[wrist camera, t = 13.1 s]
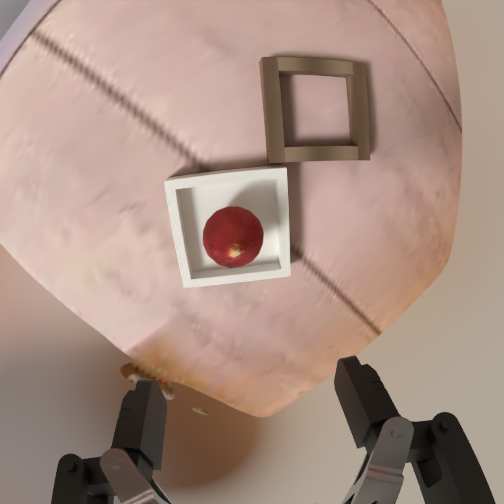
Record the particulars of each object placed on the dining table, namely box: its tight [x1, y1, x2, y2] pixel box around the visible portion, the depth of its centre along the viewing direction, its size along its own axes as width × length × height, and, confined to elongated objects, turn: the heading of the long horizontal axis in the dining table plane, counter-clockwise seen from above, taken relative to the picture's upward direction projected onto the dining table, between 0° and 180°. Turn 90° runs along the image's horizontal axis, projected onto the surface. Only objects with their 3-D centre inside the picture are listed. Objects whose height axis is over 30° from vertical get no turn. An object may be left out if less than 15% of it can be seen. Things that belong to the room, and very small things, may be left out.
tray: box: [164, 165, 290, 288], centre depth 30 cm, size 12×12×2 cm
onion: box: [203, 206, 264, 268], centre depth 26 cm, size 6×6×8 cm
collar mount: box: [259, 57, 370, 163], centre depth 25 cm, size 11×11×2 cm
